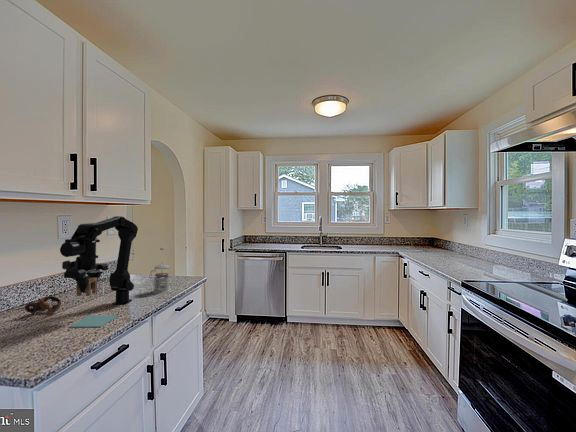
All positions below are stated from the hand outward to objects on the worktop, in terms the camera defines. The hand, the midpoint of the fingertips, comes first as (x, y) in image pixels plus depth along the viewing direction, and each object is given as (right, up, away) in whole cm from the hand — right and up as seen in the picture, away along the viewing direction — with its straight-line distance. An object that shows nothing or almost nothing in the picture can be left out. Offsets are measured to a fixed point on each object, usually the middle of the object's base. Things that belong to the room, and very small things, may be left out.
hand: (87, 290), depth 120 cm
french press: (+11, -12, +43) cm, 46 cm away
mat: (+5, -12, -3) cm, 13 cm away
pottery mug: (-23, -12, +5) cm, 26 cm away
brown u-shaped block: (0, -2, 0) cm, 2 cm away
